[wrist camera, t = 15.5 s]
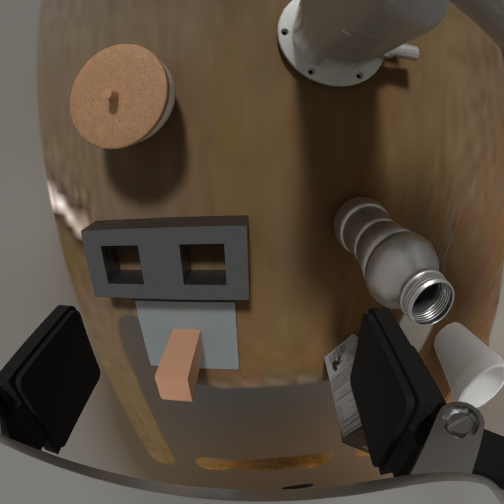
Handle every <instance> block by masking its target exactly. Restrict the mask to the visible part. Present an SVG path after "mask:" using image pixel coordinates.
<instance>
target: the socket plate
mask: <svg viewBox="0 0 504 504" xmlns="http://www.w3.org/2000/svg"><path fill="white" fill-rule="evenodd" d="M81 234H82V239H83V244H84V249H85V254H86V259H87V263H88V268H89V272H90V276H91V280H92V284H93V288H94V292H95V296H96V297H113V298H139V299H177V300H249V291H250V268H249V231H248V216H203V217H172V218H147V219H126V220H107V221H95V222H94V223H92V224H90V225H89V226H87V227H86V228H84V229H83V230H82V231H81ZM188 244H224V250H225V267H226V270H191V269H190V260H189V250H188ZM124 245H138V250H139V257H140V263H141V269H142V270H120V266H119V261H118V256H117V250H116V246H124Z"/></svg>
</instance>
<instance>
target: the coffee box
mask: <svg viewBox="0 0 504 504" xmlns="http://www.w3.org/2000/svg"><path fill="white" fill-rule="evenodd" d="M358 338H359V337H358V336H356V335H355V334H354V333H353V334H351V335H350V336H349V337H348V338H347V339H346V340H344V341H343V342H342V343H341V344H340V345H338V346H337V347H336V348H335V349H334V350H332V351H331V352H330V353H329V354H328V355H326V356H325V357H324V360H325V364H326V369H327V373H328V377H329V382H330V387H331V391H332V396H333V401H334V405H335V410H336V415H337V420H338V425H339V430H340V434H341V439H342V442H343V443H345V444H347V445H350V446H352V447H354V448H357V449H360V450H362V451H365V452H367V453H369V449H368V445H367V442H366V438H365V434H364V431H363V427H362V423H361V420H360V416H359V413H358V409H357V406H356V402H355V399H354V396H353V392H352V389H351V385H350V375H351V371H352V366H353V362H354V357H355V353H356V348H357V343H358Z"/></svg>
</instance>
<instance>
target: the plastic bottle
mask: <svg viewBox="0 0 504 504" xmlns="http://www.w3.org/2000/svg"><path fill="white" fill-rule="evenodd" d="M334 231H335V236H336V238H337V241H338V242H339V244H340V245H341V246H342V247H343V248H345V249H346V250H347V251H348V252H350V253H351V254H352V255H353V256H354V257H355V258H356V259H357V261H358V263H359V265H360V267H361V269H362V272H363V275H364V278H365V282H366V285H367V288H368V290H369V292H370V294H371V295H372V297H373V298H374V299H375V300H376V301H377V302H379V303H380V304H382V305H384V306H385V307H387V308H391V309H401V310H402V311H403V312H404V314H405V315H407V316H408V317H409V318H410V320H411V321H412V322H413V323H414V324H416V325H417V326H420V327H427V326H431V325H434V324H436V323H438V322H439V321H440V320H442V319H443V318H444V317H445V316H446V315H447V313H448V312H449V311H450V309H451V307H452V305H453V302H454V295H455V294H454V289H453V287H452V285H451V284H450V283H449V282H448V281H447V280H446V279H445V277H444V276H443V274H441V273H440V272H439V260H438V256H437V254H436V251H435V249H434V247H433V245H432V244H431V243H430V241H429V240H427V239H426V238H425V237H423V236H421V235H420V234H418V233H415V232H413V231H411V230H408V229H406V228H404V227H402V226H401V225H399V224H397V223H396V222H394V221H393V219H392V218H391V217H390V216H389V214H388V212H387V211H386V209H385V208H384V207H383V206H382V205H381V204H380V203H379V202H378V201H376V200H374V199H372V198H367V197H355V198H352V199H350V200H348V201H346V202H345V203H344V204H343V205H342V206H341V207H340V208H339V210H338V211H337V213H336V215H335V219H334Z"/></svg>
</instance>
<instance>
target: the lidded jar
mask: <svg viewBox="0 0 504 504" xmlns="http://www.w3.org/2000/svg"><path fill="white" fill-rule="evenodd" d="M174 102H175V85H174V81H173V78H172V75H171V73H170V72H169V70H168V68H167V67H166V66H165V64H164V63H163V62H162V61H161V60H160V59H159V58H158V57H157V56H156V55H154V54H153V53H152V52H151V51H149V50H147V49H145V48H144V47H141V46H138V45H133V44H120V45H115V46H111V47H109V48H106V49H104V50H102V51H100V52H99V53H97V54H96V55H95V56H93V57H92V58H91V59H90V60H89V61H88V62H87V63H86V64H85V65H84V67H83V68H82V69H81V71H80V72H79V74H78V76H77V78H76V80H75V82H74V85H73V88H72V92H71V98H70V110H71V116H72V120H73V123H74V125H75V127H76V129H77V131H78V132H79V134H80V135H81V136H82V137H83V138H84V139H85V140H86V141H88V142H89V143H90V144H92V145H94V146H96V147H99V148H103V149H121V148H125V147H129V146H131V145H133V144H137V143H139V142H142V141H144V140H146V139H148V138H149V137H151V136H153V135H154V134H155V133H156V132H157V131H159V129H160V128H161V127H162V126H163V125H164V124H165V123H166V121H167V120H168V118H169V116H170V114H171V112H172V109H173V106H174Z"/></svg>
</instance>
